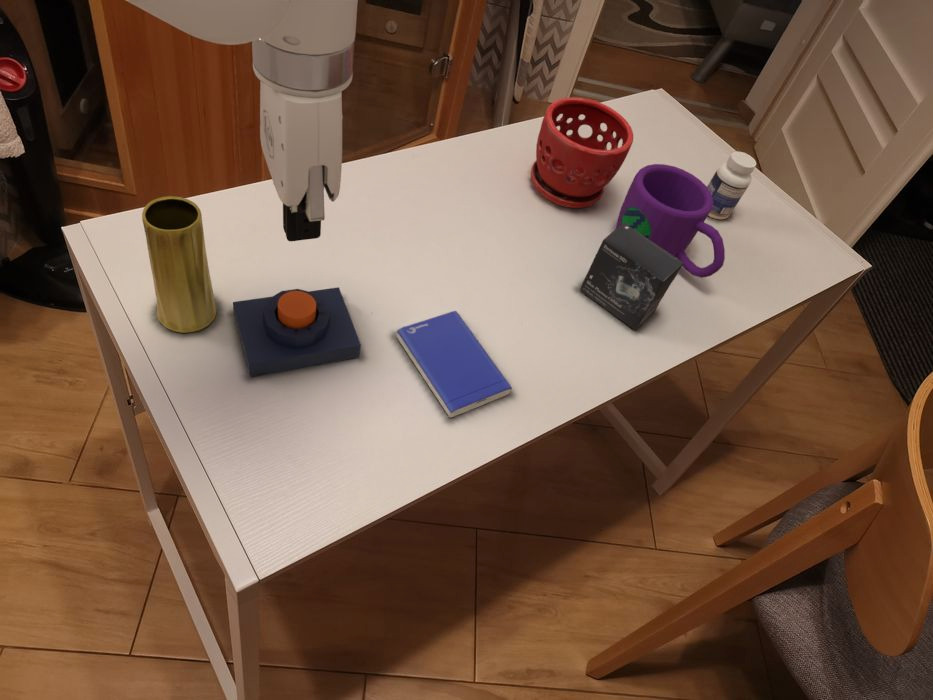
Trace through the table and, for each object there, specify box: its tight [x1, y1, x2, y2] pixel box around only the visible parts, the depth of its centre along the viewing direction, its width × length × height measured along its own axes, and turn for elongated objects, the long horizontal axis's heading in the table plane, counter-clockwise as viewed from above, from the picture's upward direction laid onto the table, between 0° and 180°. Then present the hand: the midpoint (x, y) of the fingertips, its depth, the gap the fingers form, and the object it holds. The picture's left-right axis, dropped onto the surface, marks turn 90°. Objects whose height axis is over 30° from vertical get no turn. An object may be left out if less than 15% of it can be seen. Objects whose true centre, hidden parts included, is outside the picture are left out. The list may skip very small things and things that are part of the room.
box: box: [579, 223, 684, 331], centre depth 88 cm, size 9×6×10 cm, turn 49°
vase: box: [141, 195, 217, 334], centre depth 71 cm, size 6×6×14 cm
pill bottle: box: [706, 150, 757, 220], centre depth 107 cm, size 5×5×10 cm
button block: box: [232, 287, 361, 378], centre depth 75 cm, size 12×9×4 cm
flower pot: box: [530, 97, 634, 209], centre depth 101 cm, size 13×13×12 cm
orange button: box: [278, 291, 316, 329], centre depth 74 cm, size 4×4×2 cm
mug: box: [615, 163, 726, 279], centre depth 96 cm, size 17×11×10 cm, turn 35°
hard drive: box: [395, 310, 513, 419], centre depth 78 cm, size 2×8×12 cm
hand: (301, 234), depth 66 cm, fingers closed
